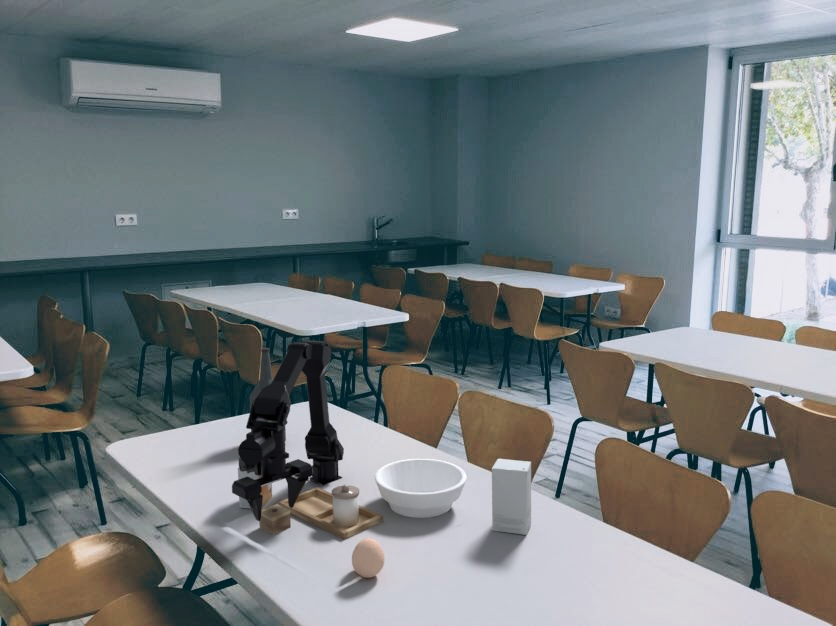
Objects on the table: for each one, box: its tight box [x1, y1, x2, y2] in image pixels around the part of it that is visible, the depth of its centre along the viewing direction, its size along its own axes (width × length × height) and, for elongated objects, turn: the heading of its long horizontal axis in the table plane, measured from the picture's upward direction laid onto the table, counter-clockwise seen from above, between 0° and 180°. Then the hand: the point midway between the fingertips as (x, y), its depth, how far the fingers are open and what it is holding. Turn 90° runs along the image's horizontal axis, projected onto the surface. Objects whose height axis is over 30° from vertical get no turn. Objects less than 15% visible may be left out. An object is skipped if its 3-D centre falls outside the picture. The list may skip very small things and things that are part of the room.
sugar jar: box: [331, 484, 360, 527], centre depth 171 cm, size 6×6×9 cm
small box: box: [237, 466, 273, 509], centre depth 183 cm, size 8×6×10 cm
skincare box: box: [491, 458, 532, 536], centre depth 169 cm, size 8×7×16 cm
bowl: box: [374, 458, 467, 519], centre depth 181 cm, size 22×22×8 cm
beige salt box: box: [259, 503, 292, 536], centre depth 169 cm, size 5×5×5 cm
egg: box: [351, 537, 386, 579], centre depth 149 cm, size 7×7×8 cm
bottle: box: [249, 347, 287, 442], centre depth 223 cm, size 10×10×30 cm
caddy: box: [278, 486, 384, 540], centre depth 176 cm, size 12×24×2 cm, turn 47°
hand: (274, 513), depth 169 cm, fingers open, 9 cm apart
